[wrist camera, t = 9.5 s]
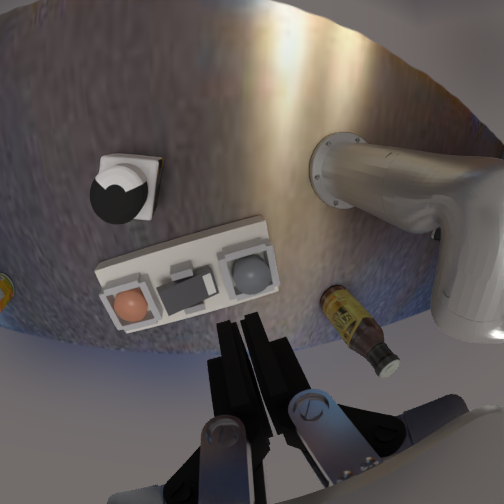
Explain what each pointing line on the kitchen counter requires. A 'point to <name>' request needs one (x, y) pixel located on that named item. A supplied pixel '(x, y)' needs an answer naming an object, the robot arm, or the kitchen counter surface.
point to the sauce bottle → (359, 330)
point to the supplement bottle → (5, 290)
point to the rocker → (188, 290)
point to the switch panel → (187, 270)
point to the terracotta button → (131, 305)
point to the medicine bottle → (126, 187)
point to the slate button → (251, 274)
